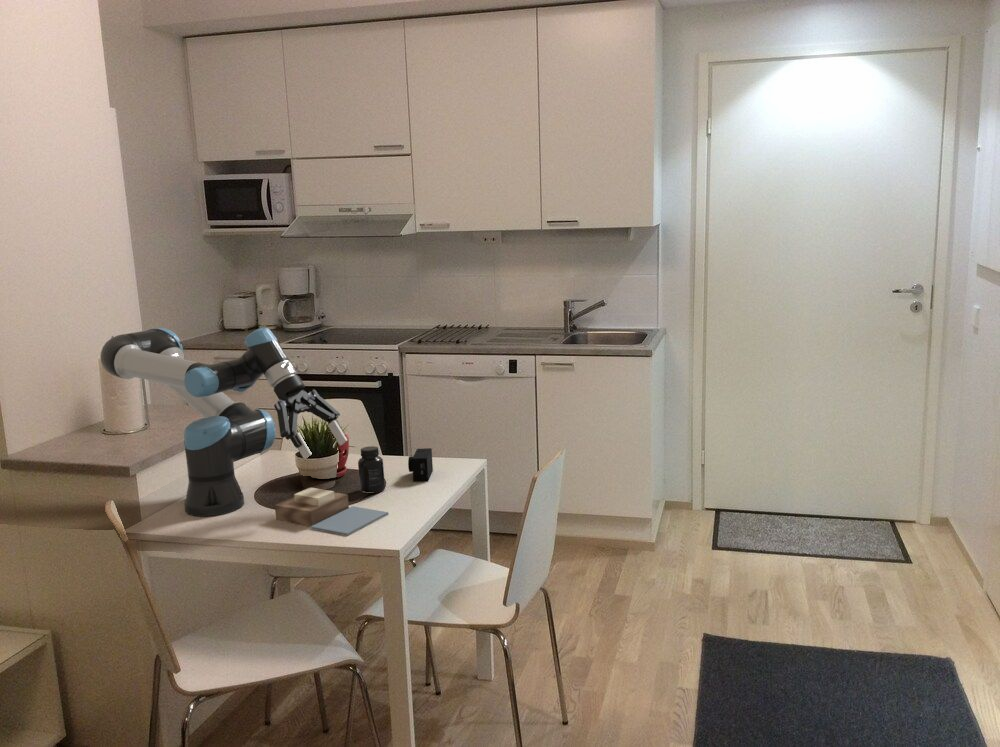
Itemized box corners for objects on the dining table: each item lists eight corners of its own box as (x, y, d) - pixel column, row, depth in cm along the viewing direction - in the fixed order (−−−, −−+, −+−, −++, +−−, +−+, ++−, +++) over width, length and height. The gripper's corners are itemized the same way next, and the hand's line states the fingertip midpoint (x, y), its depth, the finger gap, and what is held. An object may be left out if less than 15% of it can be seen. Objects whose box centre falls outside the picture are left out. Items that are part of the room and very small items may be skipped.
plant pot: (323, 485, 253) (320, 444, 250) (296, 477, 262) (293, 437, 259) (360, 473, 262) (357, 434, 260) (333, 466, 271) (330, 428, 269)
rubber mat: (310, 528, 219) (310, 526, 219) (352, 508, 232) (352, 506, 232) (347, 535, 213) (347, 533, 213) (388, 514, 226) (388, 512, 226)
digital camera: (414, 471, 263) (413, 448, 261) (432, 470, 262) (431, 447, 261) (409, 482, 252) (407, 458, 251) (428, 481, 252) (426, 457, 251)
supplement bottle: (388, 486, 249) (385, 445, 247) (380, 494, 242) (377, 451, 240) (364, 486, 250) (361, 444, 248) (356, 494, 244) (353, 451, 241)
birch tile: (294, 501, 227) (294, 494, 226) (310, 494, 232) (310, 487, 232) (318, 506, 223) (318, 498, 222) (334, 498, 228) (333, 491, 228)
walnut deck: (276, 520, 226) (274, 505, 225) (313, 503, 238) (312, 488, 237) (312, 527, 220) (310, 511, 219) (348, 509, 232) (347, 494, 231)
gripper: (257, 383, 223) (300, 455, 220) (325, 365, 243) (365, 430, 240) (242, 399, 227) (284, 470, 224) (310, 379, 247) (349, 444, 244)
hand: (326, 449), depth 232 cm, fingers open, 13 cm apart
